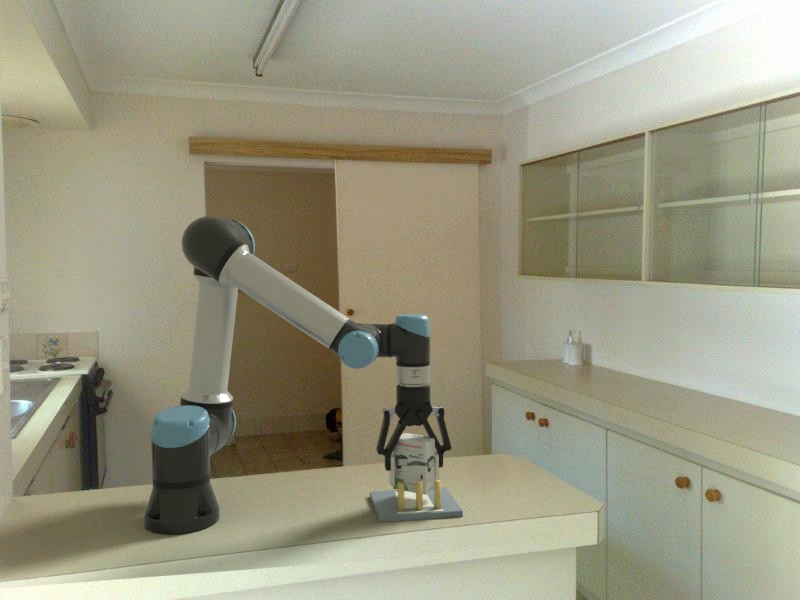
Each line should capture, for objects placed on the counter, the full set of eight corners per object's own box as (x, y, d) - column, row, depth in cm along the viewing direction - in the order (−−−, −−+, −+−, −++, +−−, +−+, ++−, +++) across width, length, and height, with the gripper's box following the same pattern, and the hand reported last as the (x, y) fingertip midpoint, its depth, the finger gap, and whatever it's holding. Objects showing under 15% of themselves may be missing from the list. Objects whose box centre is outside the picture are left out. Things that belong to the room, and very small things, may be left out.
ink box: (391, 489, 161) (391, 437, 160) (402, 482, 165) (402, 432, 164) (426, 495, 157) (426, 441, 156) (436, 488, 161) (436, 436, 160)
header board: (379, 521, 151) (379, 488, 150) (370, 496, 167) (369, 466, 166) (462, 516, 154) (462, 483, 153) (445, 492, 170) (445, 462, 169)
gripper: (366, 388, 154) (367, 491, 155) (465, 384, 158) (466, 485, 159) (362, 382, 161) (363, 480, 163) (457, 379, 165) (457, 474, 166)
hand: (414, 482), depth 161 cm, fingers closed on ink box, 9 cm apart
